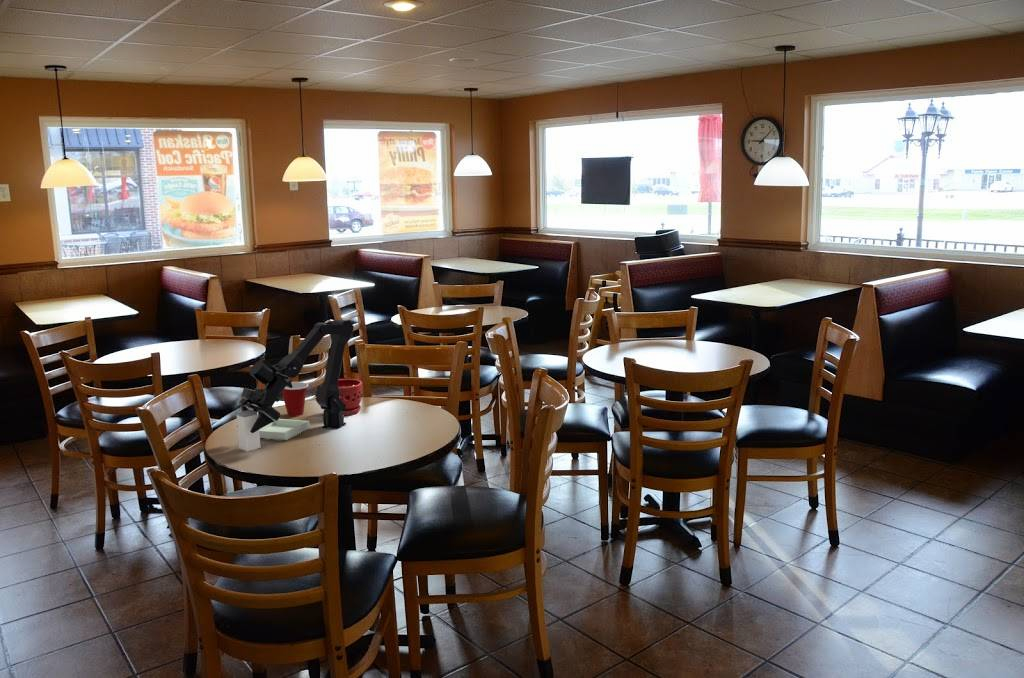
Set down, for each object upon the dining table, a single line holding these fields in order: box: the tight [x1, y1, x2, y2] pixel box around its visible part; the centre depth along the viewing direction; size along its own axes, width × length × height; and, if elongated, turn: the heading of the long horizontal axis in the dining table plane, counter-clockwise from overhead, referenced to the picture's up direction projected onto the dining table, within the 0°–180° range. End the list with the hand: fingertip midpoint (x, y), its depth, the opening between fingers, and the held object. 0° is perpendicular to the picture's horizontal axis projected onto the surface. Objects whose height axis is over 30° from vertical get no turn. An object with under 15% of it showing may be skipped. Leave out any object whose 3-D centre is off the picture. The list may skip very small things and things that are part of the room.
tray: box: [259, 418, 311, 441], centre depth 296 cm, size 15×15×3 cm
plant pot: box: [338, 378, 363, 416], centre depth 319 cm, size 13×13×12 cm
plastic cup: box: [281, 381, 309, 417], centre depth 319 cm, size 11×11×12 cm
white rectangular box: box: [236, 410, 261, 452], centre depth 278 cm, size 5×5×12 cm
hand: (244, 429), depth 277 cm, fingers open, 9 cm apart
